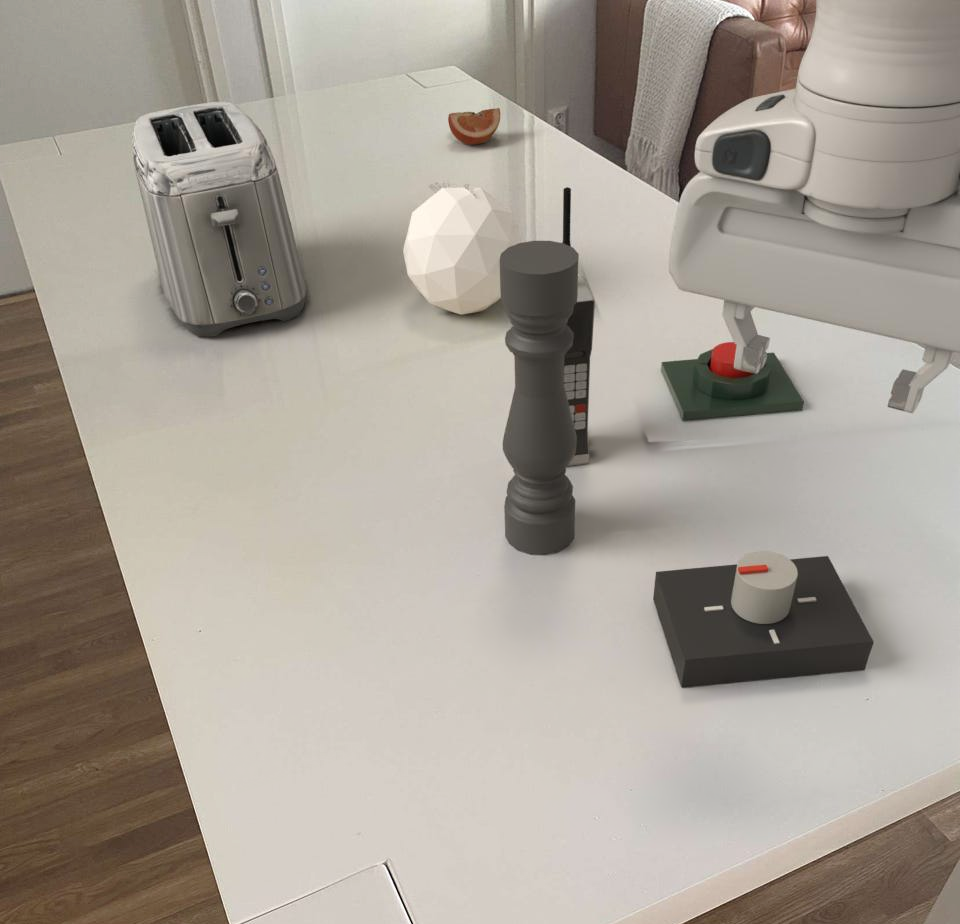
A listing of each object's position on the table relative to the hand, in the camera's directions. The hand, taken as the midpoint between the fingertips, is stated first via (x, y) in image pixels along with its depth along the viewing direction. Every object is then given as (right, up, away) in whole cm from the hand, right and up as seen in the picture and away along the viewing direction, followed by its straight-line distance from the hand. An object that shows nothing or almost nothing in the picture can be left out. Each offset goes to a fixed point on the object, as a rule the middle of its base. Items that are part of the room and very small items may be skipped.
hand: (823, 386), depth 61 cm
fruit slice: (-21, +64, +101) cm, 122 cm away
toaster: (-52, +29, +67) cm, 90 cm away
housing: (+5, +9, +43) cm, 44 cm away
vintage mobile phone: (-12, +3, +38) cm, 40 cm away
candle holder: (-15, -6, +29) cm, 33 cm away
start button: (+5, +12, +41) cm, 43 cm away
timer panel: (+1, -15, +18) cm, 24 cm away
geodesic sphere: (-22, +25, +61) cm, 70 cm away
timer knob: (+1, -13, +16) cm, 21 cm away
